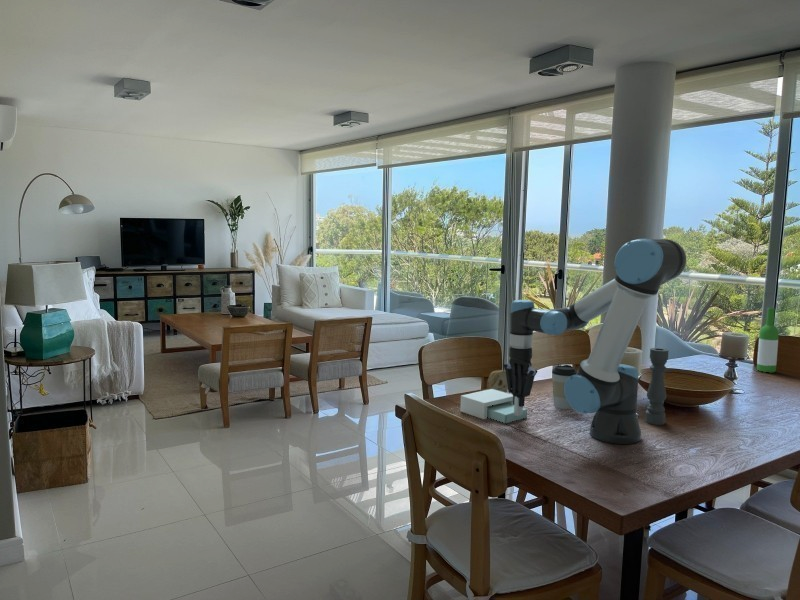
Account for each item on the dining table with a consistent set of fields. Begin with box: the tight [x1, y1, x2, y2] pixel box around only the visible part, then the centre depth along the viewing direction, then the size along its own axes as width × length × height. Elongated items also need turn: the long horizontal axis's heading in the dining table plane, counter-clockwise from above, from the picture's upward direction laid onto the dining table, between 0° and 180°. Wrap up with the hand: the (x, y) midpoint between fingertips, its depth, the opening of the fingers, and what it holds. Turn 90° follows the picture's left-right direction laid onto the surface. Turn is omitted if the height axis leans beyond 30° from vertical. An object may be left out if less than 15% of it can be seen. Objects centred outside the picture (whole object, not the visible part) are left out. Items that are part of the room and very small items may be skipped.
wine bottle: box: [756, 307, 780, 374], centre depth 280 cm, size 8×8×30 cm
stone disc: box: [486, 369, 508, 393], centre depth 234 cm, size 10×4×10 cm, turn 125°
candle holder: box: [644, 347, 669, 426], centre depth 202 cm, size 6×6×25 cm
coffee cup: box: [551, 364, 578, 410], centre depth 219 cm, size 9×9×15 cm
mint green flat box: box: [487, 403, 528, 424], centre depth 207 cm, size 10×11×3 cm
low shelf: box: [460, 389, 513, 420], centre depth 213 cm, size 12×16×6 cm
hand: (518, 415), depth 202 cm, fingers closed
